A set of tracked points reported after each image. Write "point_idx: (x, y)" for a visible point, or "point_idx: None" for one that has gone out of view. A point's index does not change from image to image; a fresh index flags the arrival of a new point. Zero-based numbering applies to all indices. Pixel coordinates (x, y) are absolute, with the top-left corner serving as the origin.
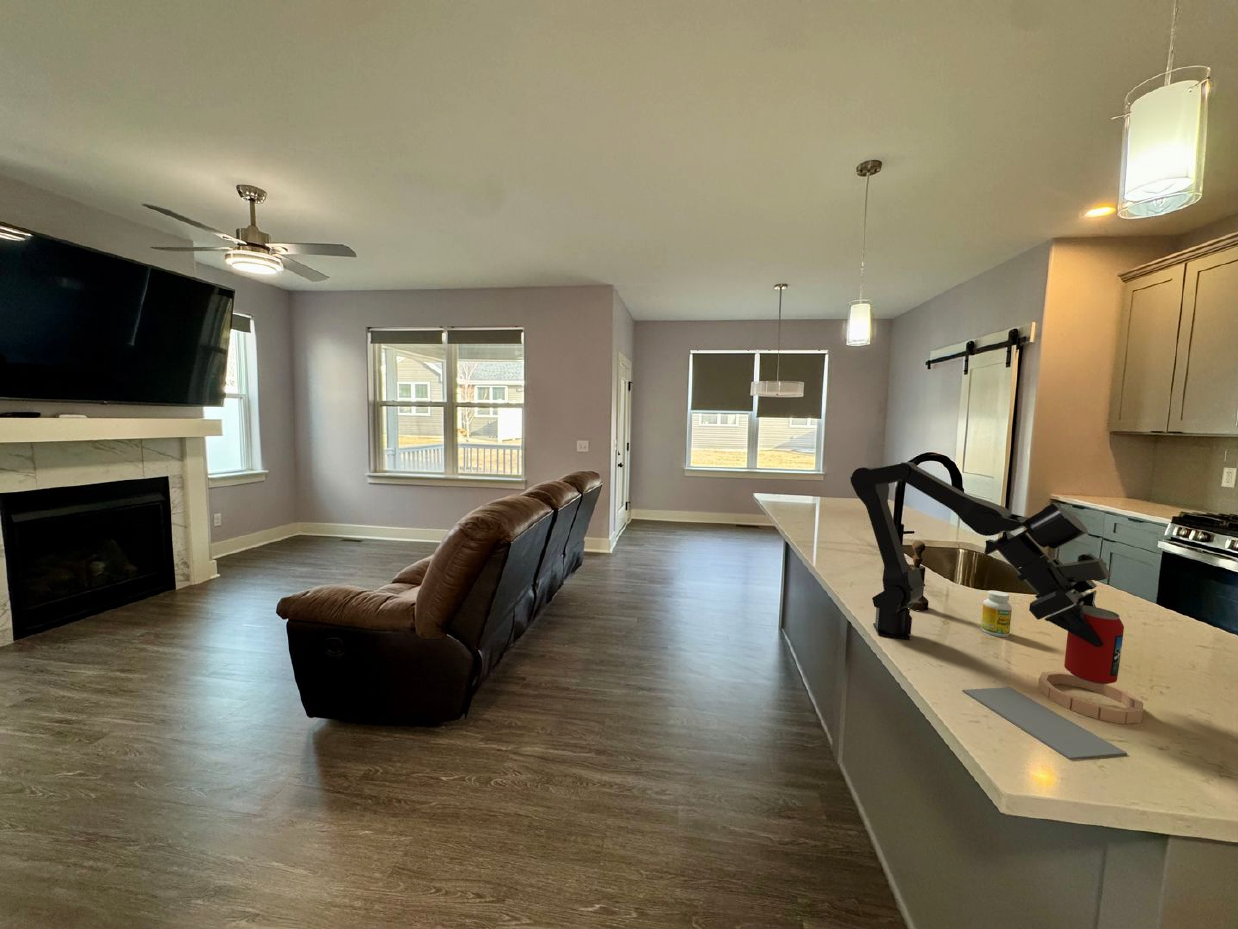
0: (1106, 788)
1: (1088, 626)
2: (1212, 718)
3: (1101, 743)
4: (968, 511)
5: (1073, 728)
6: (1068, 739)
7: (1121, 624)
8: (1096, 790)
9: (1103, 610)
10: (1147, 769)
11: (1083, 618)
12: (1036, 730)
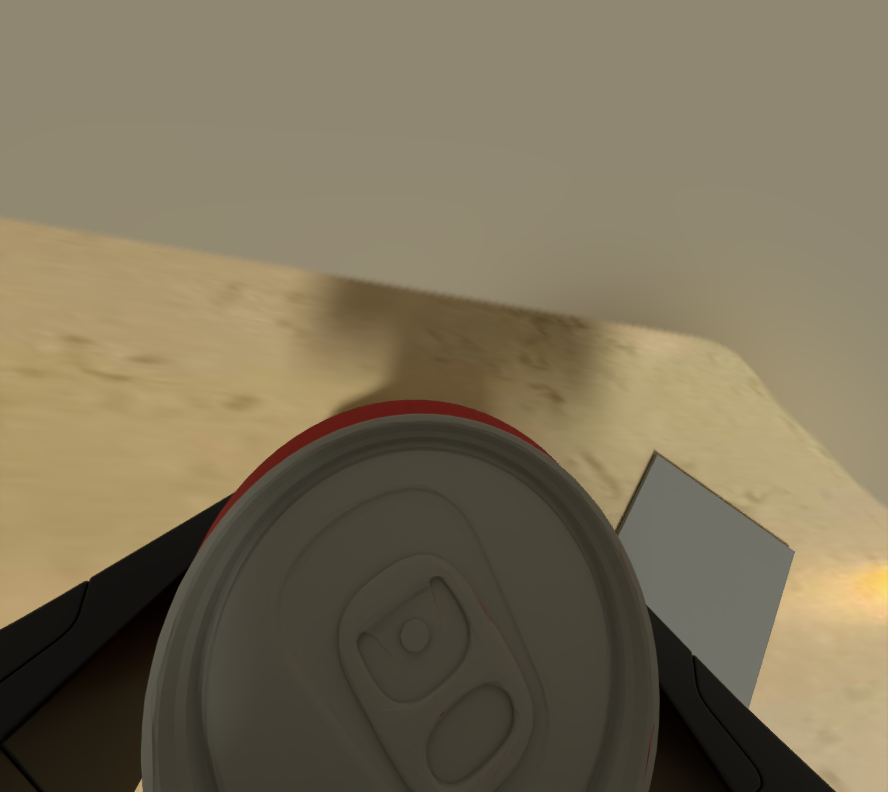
0: (823, 489)
1: (697, 661)
2: (266, 286)
3: (663, 497)
4: None
5: (642, 554)
6: (714, 560)
7: (475, 413)
8: (847, 503)
9: (219, 581)
10: (679, 426)
11: (801, 770)
12: (742, 630)
